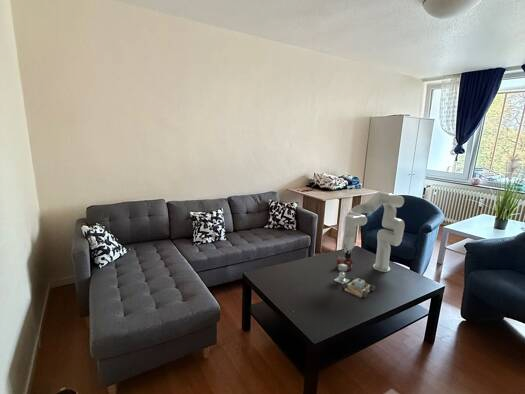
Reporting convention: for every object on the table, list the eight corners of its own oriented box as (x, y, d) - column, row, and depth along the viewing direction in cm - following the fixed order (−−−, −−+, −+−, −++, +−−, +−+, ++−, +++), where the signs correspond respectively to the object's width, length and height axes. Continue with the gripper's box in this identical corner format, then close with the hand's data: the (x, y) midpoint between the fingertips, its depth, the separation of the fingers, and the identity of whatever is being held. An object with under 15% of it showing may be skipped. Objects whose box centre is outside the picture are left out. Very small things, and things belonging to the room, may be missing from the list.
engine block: (357, 285, 190) (358, 277, 189) (364, 288, 187) (365, 279, 185) (353, 288, 187) (354, 279, 185) (360, 291, 183) (361, 282, 182)
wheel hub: (341, 266, 200) (341, 262, 200) (348, 269, 196) (349, 265, 195) (336, 269, 196) (337, 265, 196) (344, 272, 192) (344, 268, 191)
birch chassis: (353, 281, 198) (354, 275, 197) (375, 290, 187) (376, 284, 186) (341, 289, 187) (342, 283, 186) (364, 299, 176) (364, 293, 175)
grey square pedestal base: (339, 276, 204) (340, 269, 202) (349, 280, 198) (350, 273, 197) (333, 280, 198) (334, 272, 197) (343, 284, 193) (344, 276, 191)
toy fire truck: (353, 271, 213) (354, 258, 211) (336, 269, 215) (337, 257, 213) (351, 267, 220) (352, 254, 218) (335, 265, 222) (336, 253, 219)
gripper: (349, 229, 195) (347, 253, 199) (339, 234, 185) (337, 259, 189) (360, 231, 190) (357, 256, 194) (349, 237, 180) (347, 263, 184)
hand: (347, 258), depth 192 cm, fingers closed
